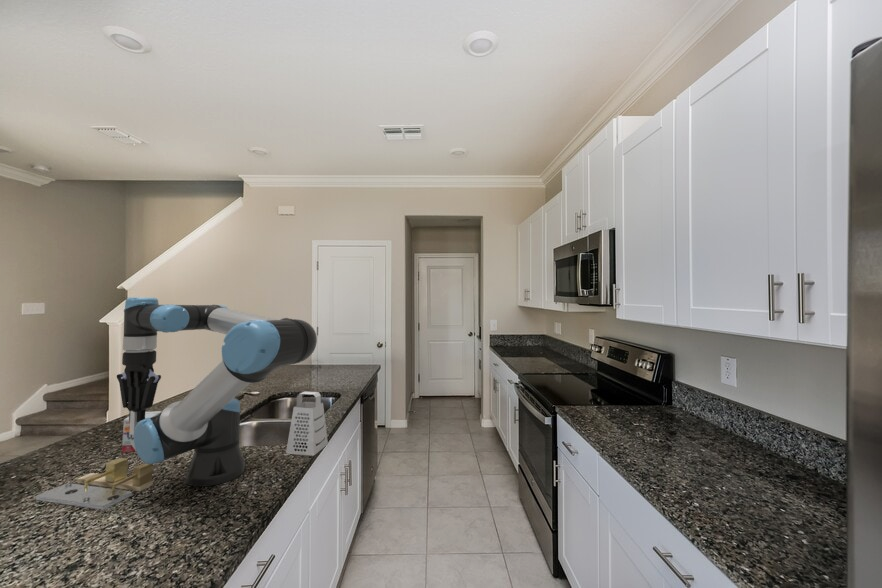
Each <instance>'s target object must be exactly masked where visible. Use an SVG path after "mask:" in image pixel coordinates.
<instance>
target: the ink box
mask: <svg viewBox="0 0 882 588" xmlns="http://www.w3.org/2000/svg"><path fill="white" fill-rule="evenodd" d="M162 411H163V410H158V411H154V410H153V411H145V419H146V418H148V417H149V418H151V417H155V416H157V415H159V414H160V413H161V412H162ZM121 443H122V445H121V446H122V447H121V453H122V454H124V453H123V452H127V453H135V452H134V451H136V448H135V444H134V435H131V434H130V421H129V416H127V417H126V418H124V419H123V425H122V442H121Z"/></svg>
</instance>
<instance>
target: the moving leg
mask: <svg viewBox="0 0 882 588" xmlns="http://www.w3.org/2000/svg"><path fill="white" fill-rule="evenodd" d="M128 465H129V458H122V457H119V458H116V459H113V460H111V461H108V462H106V463H105V472H102V473H99V474H100V475H97V476H95V477H92V478H90V479H88V480H85V481H84V484H83V485H84V491H87V488H88V486H89V484H88V483H89V482H92V481H94V480H96V479H99V478H101V477H104V476H106V477H105V481H108V482H116V481H118V480H120V479H122V478H125V477H128V472H129V471H128V468H129V467H128Z"/></svg>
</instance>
